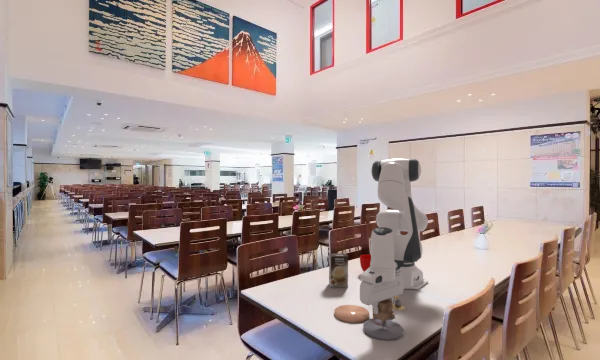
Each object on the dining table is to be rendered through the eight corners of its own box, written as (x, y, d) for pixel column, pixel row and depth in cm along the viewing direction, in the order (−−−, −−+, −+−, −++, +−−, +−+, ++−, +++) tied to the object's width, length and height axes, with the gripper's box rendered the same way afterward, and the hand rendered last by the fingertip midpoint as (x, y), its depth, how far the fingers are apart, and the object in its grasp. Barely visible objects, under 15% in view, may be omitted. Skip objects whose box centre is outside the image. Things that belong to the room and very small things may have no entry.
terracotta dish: (351, 304, 134) (351, 302, 134) (376, 316, 122) (376, 313, 122) (327, 312, 126) (327, 310, 126) (351, 326, 114) (351, 322, 114)
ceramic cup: (379, 269, 188) (379, 252, 188) (384, 277, 171) (384, 260, 171) (358, 268, 189) (358, 252, 189) (361, 277, 172) (360, 259, 172)
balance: (372, 307, 131) (372, 275, 131) (409, 323, 116) (409, 287, 116) (360, 311, 127) (360, 278, 127) (397, 328, 112) (397, 291, 112)
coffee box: (330, 287, 155) (330, 256, 155) (328, 283, 162) (328, 253, 162) (348, 287, 156) (348, 256, 156) (346, 283, 162) (345, 253, 162)
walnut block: (381, 312, 114) (381, 296, 114) (392, 317, 110) (392, 301, 110) (372, 316, 112) (372, 299, 112) (383, 321, 107) (383, 304, 107)
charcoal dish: (380, 318, 121) (380, 315, 121) (411, 332, 109) (411, 329, 109) (355, 328, 113) (355, 325, 113) (385, 344, 101) (385, 341, 101)
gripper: (393, 266, 119) (393, 301, 119) (356, 275, 108) (356, 315, 108) (407, 270, 114) (407, 307, 114) (370, 280, 103) (370, 321, 103)
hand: (382, 311), depth 111 cm, fingers closed on walnut block, 5 cm apart
